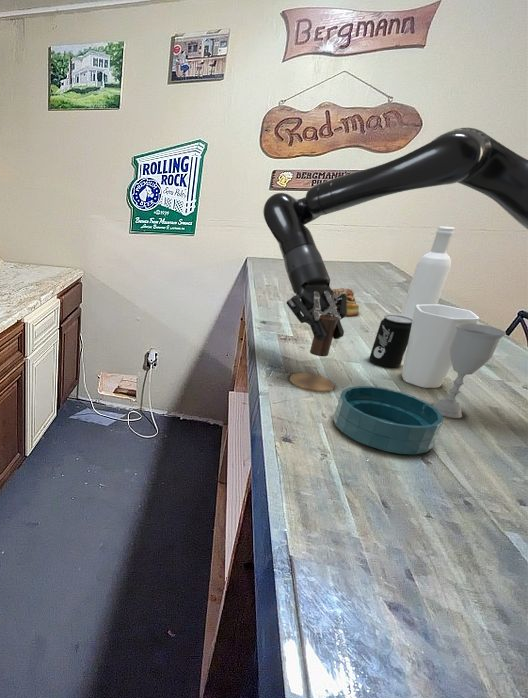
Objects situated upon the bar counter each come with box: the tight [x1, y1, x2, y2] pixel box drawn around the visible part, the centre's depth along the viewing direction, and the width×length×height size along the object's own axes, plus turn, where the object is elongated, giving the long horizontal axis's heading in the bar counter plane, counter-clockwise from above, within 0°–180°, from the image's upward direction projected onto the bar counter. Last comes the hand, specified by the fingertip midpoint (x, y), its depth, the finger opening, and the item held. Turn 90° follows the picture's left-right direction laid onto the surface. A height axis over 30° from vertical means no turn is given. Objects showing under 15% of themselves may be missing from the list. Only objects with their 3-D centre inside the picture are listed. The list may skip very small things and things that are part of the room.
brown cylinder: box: [309, 314, 338, 357], centre depth 101 cm, size 4×4×8 cm
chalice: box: [432, 323, 507, 419], centre depth 90 cm, size 7×7×18 cm
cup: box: [401, 303, 481, 389], centre depth 103 cm, size 11×10×17 cm
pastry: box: [319, 287, 360, 318], centre depth 155 cm, size 13×15×8 cm
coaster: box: [289, 372, 335, 393], centre depth 105 cm, size 9×9×1 cm
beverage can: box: [369, 314, 412, 369], centre depth 113 cm, size 7×7×12 cm
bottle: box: [399, 225, 456, 320], centre depth 135 cm, size 8×8×30 cm
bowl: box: [332, 385, 444, 455], centre depth 85 cm, size 15×15×6 cm
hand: (330, 337), depth 99 cm, fingers closed on brown cylinder, 3 cm apart
